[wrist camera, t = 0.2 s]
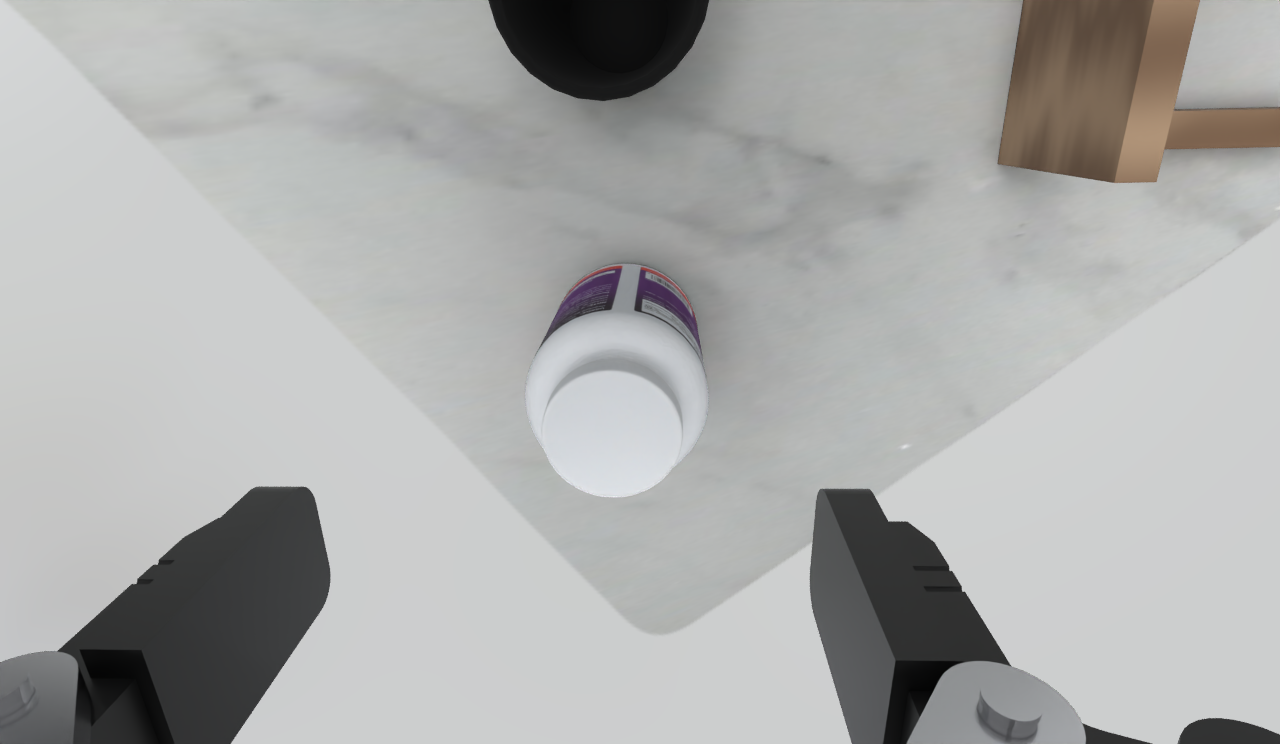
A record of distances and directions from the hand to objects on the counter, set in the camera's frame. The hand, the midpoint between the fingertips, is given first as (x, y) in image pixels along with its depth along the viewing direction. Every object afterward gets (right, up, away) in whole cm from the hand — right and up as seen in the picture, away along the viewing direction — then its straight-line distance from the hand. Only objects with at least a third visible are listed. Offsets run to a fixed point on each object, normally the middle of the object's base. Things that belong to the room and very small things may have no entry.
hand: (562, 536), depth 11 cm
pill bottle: (+1, +5, +29) cm, 30 cm away
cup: (0, +20, +24) cm, 31 cm away
